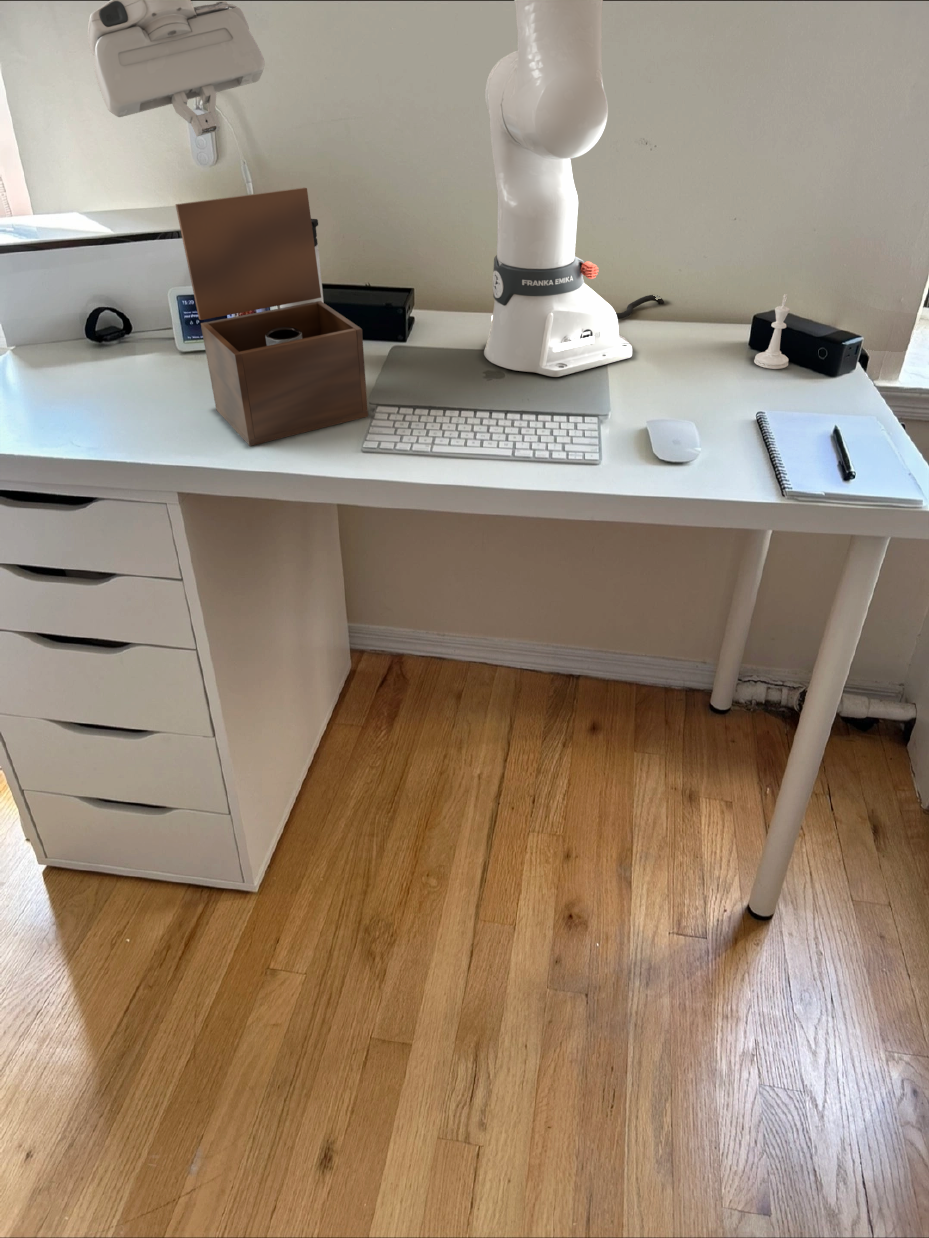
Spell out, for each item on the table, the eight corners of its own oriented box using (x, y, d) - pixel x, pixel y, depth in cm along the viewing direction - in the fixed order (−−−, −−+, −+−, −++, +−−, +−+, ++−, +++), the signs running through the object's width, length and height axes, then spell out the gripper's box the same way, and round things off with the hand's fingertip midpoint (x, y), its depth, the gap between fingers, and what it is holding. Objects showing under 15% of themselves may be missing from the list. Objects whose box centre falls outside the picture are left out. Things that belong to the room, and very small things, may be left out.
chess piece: (751, 366, 133) (765, 298, 127) (756, 354, 137) (769, 287, 130) (786, 371, 131) (801, 302, 125) (789, 359, 135) (805, 291, 129)
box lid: (307, 188, 113) (304, 187, 113) (177, 205, 106) (175, 204, 107) (321, 297, 120) (319, 296, 121) (200, 320, 113) (198, 319, 114)
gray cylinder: (282, 419, 117) (271, 341, 111) (271, 406, 120) (260, 330, 114) (315, 412, 119) (306, 335, 112) (303, 399, 122) (294, 324, 116)
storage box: (368, 416, 120) (362, 328, 112) (249, 446, 113) (234, 355, 105) (328, 384, 128) (320, 300, 121) (216, 410, 121) (200, 323, 114)
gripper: (232, 13, 115) (279, 122, 118) (75, 48, 108) (129, 164, 111) (240, -17, 109) (289, 99, 112) (75, 18, 102) (132, 141, 105)
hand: (208, 132), depth 111 cm, fingers closed
